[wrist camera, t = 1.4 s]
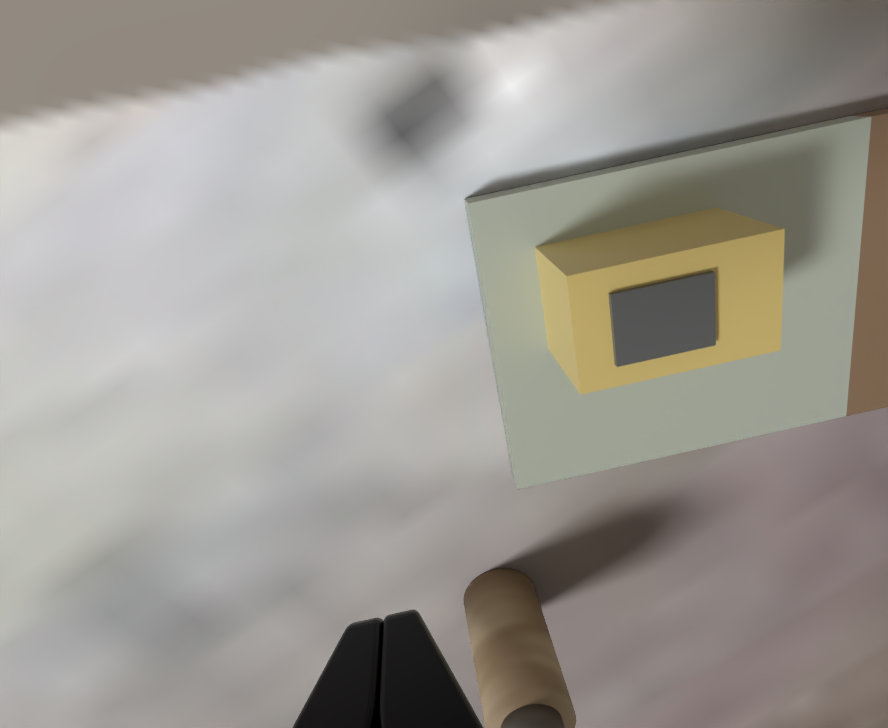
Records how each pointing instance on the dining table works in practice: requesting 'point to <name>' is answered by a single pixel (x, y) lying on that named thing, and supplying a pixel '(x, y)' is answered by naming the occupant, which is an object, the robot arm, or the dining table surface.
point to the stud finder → (662, 297)
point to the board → (718, 386)
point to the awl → (515, 654)
